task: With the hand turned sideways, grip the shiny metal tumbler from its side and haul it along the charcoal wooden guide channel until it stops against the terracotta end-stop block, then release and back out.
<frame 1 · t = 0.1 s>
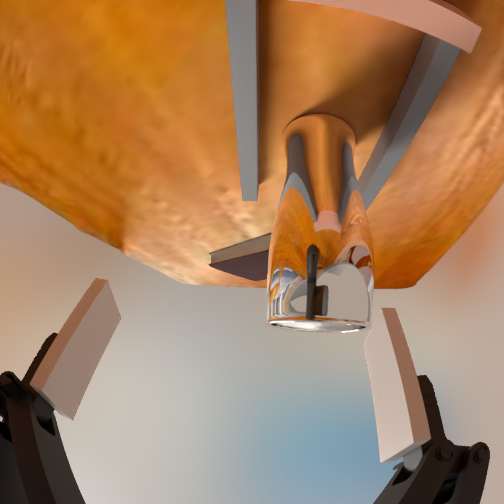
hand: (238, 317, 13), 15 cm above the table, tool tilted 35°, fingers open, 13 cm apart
book: (270, 250, 49), on the table
shiny metal tumbler: (318, 137, 22), resting in guide channel
guide channel: (327, 104, 18), on the table
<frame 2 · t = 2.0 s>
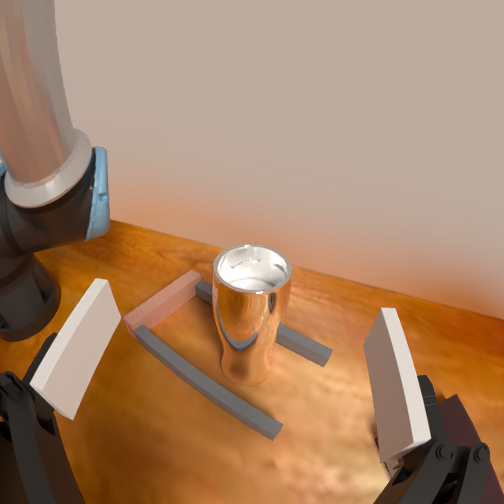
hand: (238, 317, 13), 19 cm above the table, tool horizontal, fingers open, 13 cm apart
book: (439, 481, 17), on the table
shiny metal tumbler: (246, 365, 32), resting in guide channel
guide channel: (220, 347, 34), on the table
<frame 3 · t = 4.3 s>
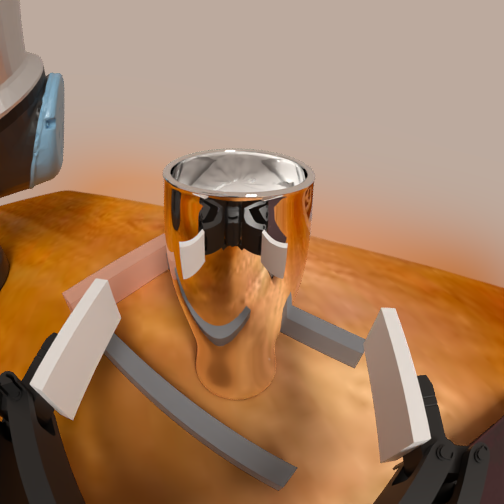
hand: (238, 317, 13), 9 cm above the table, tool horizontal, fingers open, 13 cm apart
shiny metal tumbler: (235, 367, 20), resting in guide channel
guide channel: (197, 340, 22), on the table
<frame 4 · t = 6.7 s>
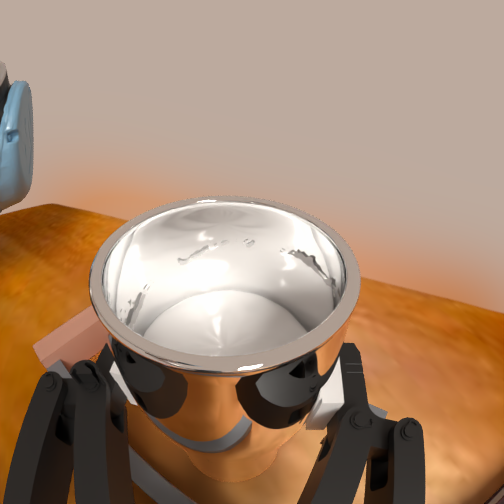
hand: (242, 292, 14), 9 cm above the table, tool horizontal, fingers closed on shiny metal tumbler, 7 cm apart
shiny metal tumbler: (231, 442, 15), resting in guide channel, touching gripper
guide channel: (186, 408, 17), on the table
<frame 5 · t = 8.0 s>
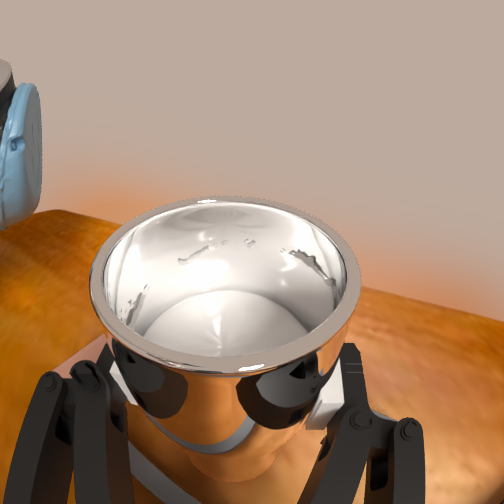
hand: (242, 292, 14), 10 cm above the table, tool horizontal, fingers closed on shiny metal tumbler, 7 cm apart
shiny metal tumbler: (231, 442, 15), point 1 cm above the table, touching gripper
guide channel: (218, 432, 16), on the table
when the fingers open (9 cm above the table, at t = 9.8 s): shiny metal tumbler stays where it is, resting in guide channel.
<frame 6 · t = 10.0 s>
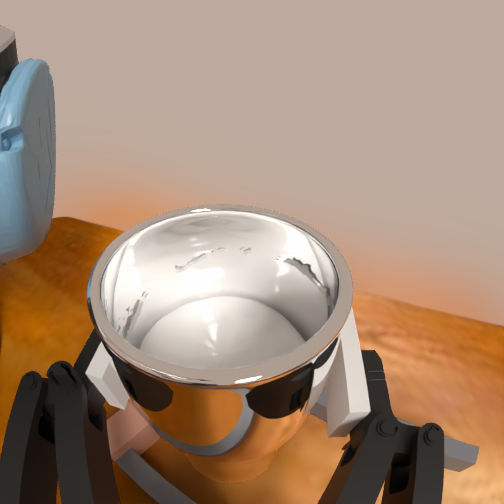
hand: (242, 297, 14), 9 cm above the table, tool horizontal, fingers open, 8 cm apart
shiny metal tumbler: (230, 444, 15), resting in guide channel
guide channel: (298, 481, 13), on the table
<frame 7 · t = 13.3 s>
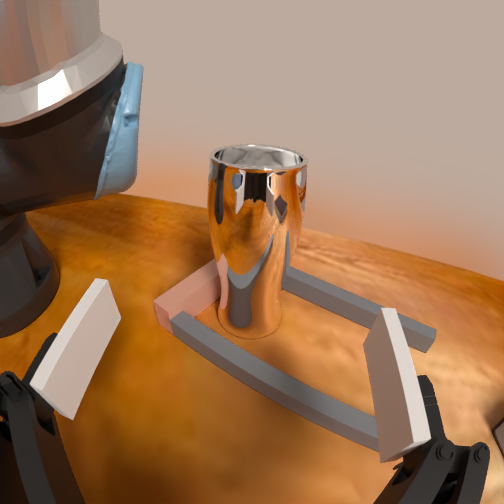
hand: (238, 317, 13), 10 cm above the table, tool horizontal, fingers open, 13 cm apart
shiny metal tumbler: (249, 315, 26), resting in guide channel
guide channel: (298, 339, 24), on the table
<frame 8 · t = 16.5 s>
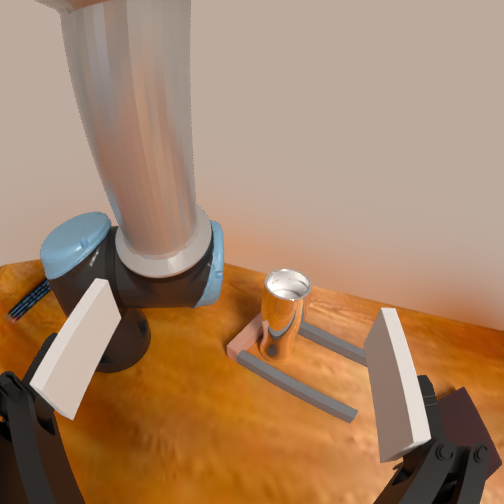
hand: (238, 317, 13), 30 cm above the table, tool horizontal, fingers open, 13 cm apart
book: (455, 447, 27), on the table
shiny metal tumbler: (276, 349, 47), resting in guide channel
guide channel: (303, 361, 44), on the table
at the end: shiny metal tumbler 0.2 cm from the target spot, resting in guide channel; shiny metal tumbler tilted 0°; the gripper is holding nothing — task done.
